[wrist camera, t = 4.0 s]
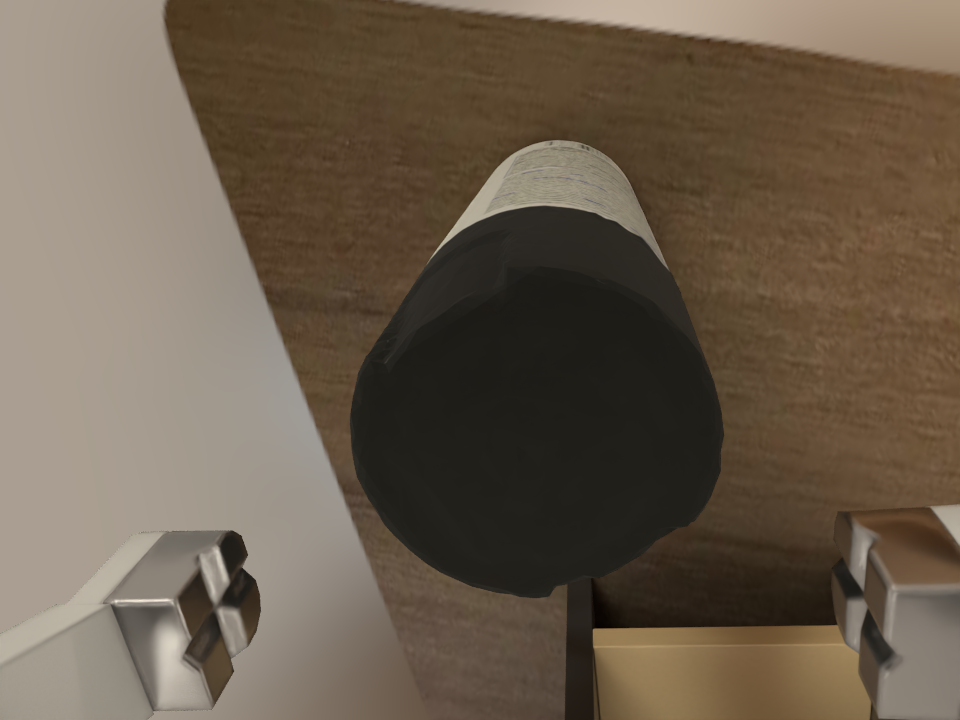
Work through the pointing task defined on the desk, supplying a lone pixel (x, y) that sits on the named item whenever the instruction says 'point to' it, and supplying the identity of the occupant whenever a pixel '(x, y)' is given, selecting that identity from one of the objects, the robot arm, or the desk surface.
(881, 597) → the robot arm
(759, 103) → the desk surface
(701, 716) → the shelf
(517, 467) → the spray can
